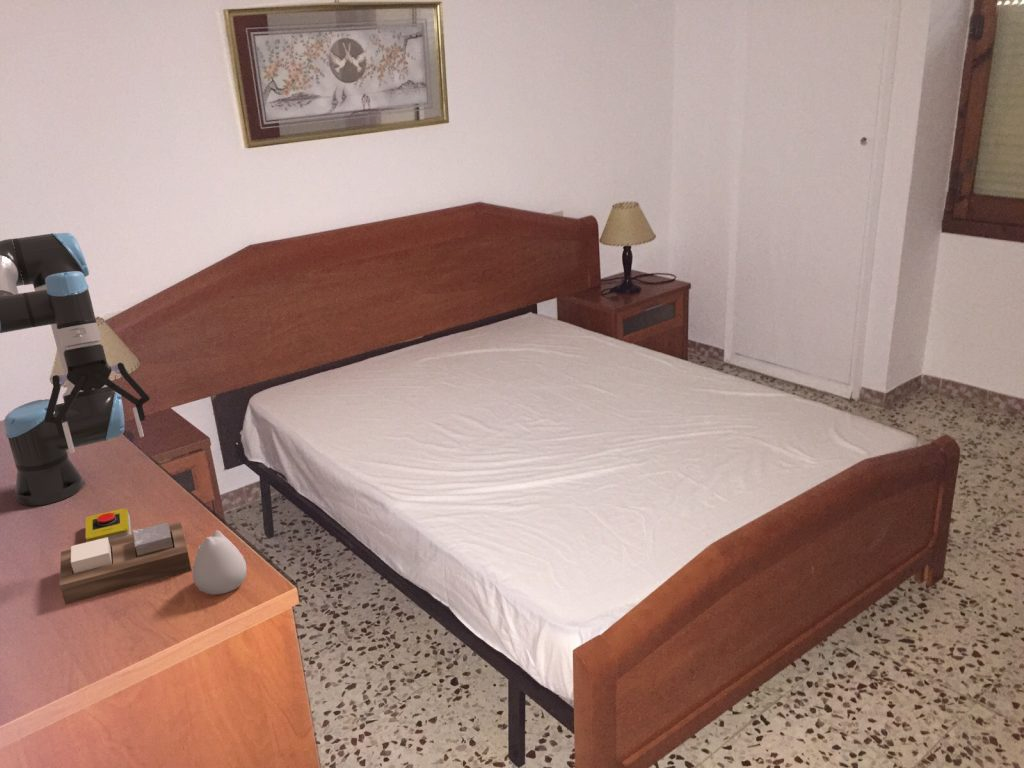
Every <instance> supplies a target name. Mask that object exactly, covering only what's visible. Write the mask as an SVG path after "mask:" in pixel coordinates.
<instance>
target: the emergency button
mask: <svg viewBox="0 0 1024 768" xmlns="http://www.w3.org/2000/svg"><path fill="white" fill-rule="evenodd" d="M131 534H133V532H132V522H131V515H130V514H129V511H128V509H127V508H125V507H124V508H119V509H116V510H115V509H114V510H110V511H107V512H102V513H98V514H93V515H89V516H87V517H86V518H85V543H86V542H90V541H94V540H98V539H102V538H106V537H108V540H111V539H115V538H119V537H123V536H127V535H131Z"/></svg>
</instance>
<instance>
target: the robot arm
mask: <svg viewBox="0 0 1024 768" xmlns="http://www.w3.org/2000/svg"><path fill="white" fill-rule="evenodd" d="M83 253H84V252H83V251H82V249H81V247H80V245H79V243H78V240H77V239H76V238H75V236H74V235H73V234H72V233H69V232H59V233H56V232H55V233H53V232H51V233H48V234H39V235H33V236H24V237H18V238H17V237H16V238H8V239H3V240H0V334H4V333H9V332H14V331H15V332H17V331H21V330H26V329H32V328H37V327H38V328H39V327H45V326H50V327H51V331H52V336H53V338H54V341H55V346H56V349H57V353H58V358H59V362H60V364H61V369H62V371H63V373H62V374H63V375H62V374H61V375H59V374H55V375H53V376H52V377H51V379H52V390H51V393H50V397H49V398H48V399H47V398H45V399H37V400H34V401H29V402H27V403H24V404H22V405H19V406H17V407H16V408H14V409H12V410H11V411H10V412H8V413H7V414H6V416H4V417H5V418H4V419H3V420H4V421H3V424H4V430H5V436H6V438H7V439H8V443H9V446H10V449H11V454H12V457H13V460H14V463H15V468H16V479H15V490H14V492H15V493H14V494H15V497H16V501H17V502H18V503H19V504H20V503H21V504H20V505H24V506H33V507H34V506H43V505H48V504H50V505H51V504H53V503H57V502H60V501H63V500H65V499H67V498H70V497H72V496H73V495H75V494H76V493H78V492H79V491H80V490H81V489H82V488H83V486H84V481H83V478H82V475H81V473H80V471H79V469H77V467H76V466H75V465H74V463H73V461H71V459H70V457H69V454H74V453H75V451H76V450H75V449H76V448H79V447H83V446H84V447H85V446H88V445H92V444H96V443H100V442H107V441H109V440H112V439H116V438H119V437H122V435H124V432H125V414H124V405H123V400H122V398H124V399H125V400H127V401H129V402H130V403H132V404H133V405H134V406H133V407H132V411H133V415H134V419H135V424H136V427H137V428H136V429H137V431H138V435H139V438H144V436H145V435H144V430H143V427H142V424H141V422H142V421H143V422H144V421H145V420H146V415H145V414H146V413H145V411H144V407H143V406H144V404H145V403H147V402H148V401H149V402H150V396H149V395H148V393H147V392H146V391H145V390H144V389H143V388H142V387H141V386H140V384H139V383H138V382H137V381H136V380H135V379H134V378H133V377H132V375H131V374H129V372H128V371H127V369H126V366H125V364H124V363H125V362H118V363H116V364H113V365H109V363H108V361H107V356H106V353H105V350H104V346H103V345H102V344H101V343H99V342H101V341H102V337H101V333H100V329H99V326H98V322H97V319H96V315H95V311H94V307H93V302H92V298H91V295H90V291H89V288H90V287H89V284H88V282H87V280H86V277H87V276H89V275H90V271H89V268H88V264H87V263H86V259H85V256H84V254H83ZM28 285H29V286H30V285H32V286H33V289H34V291H27V292H21V293H19V290H18V287H20V286H28ZM113 371H114V372H115V373H116V374H118V375H121V377H122V378H124V380H125V381H126V382H127V383H128V384H129V385H130V386H131V388H132V389H133V390H134V391H135V392H136V393H137V394H138V395H139V396H140V398H137V397H136V396H134V395H133V394H131V393H130V392H129V391H127V390H126V389H124V388H122V387H121V386H120V385H118V384H117V383H115V382H113V380H111V379H109V378H110V376H111V374H112V372H113ZM65 383H66V390H65V391H64V393H63V394H62V399H63V403H58V400H59V396H60V392H61V388H62V386H63V385H64V384H65ZM67 450H68V451H67ZM68 452H69V454H68Z"/></svg>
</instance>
